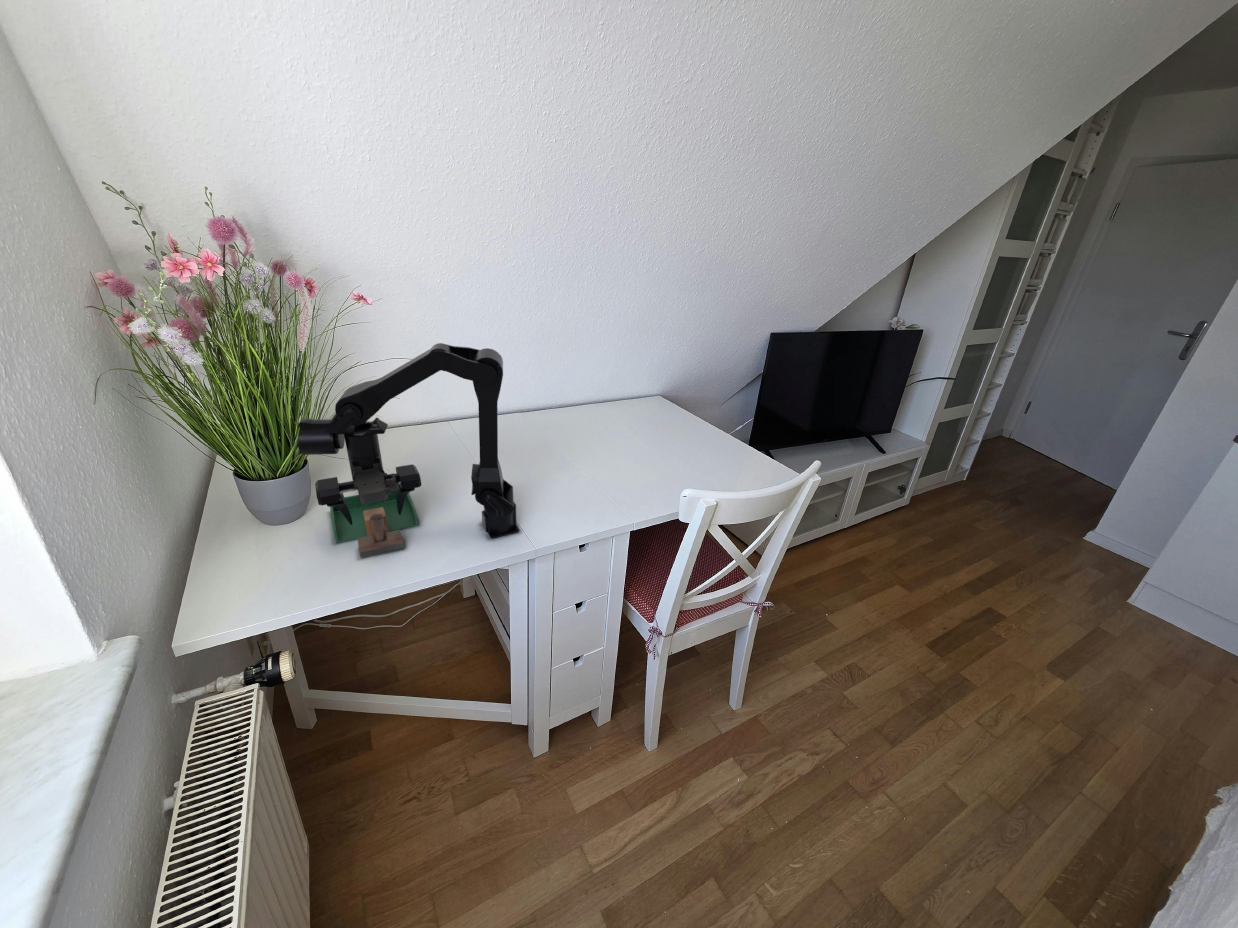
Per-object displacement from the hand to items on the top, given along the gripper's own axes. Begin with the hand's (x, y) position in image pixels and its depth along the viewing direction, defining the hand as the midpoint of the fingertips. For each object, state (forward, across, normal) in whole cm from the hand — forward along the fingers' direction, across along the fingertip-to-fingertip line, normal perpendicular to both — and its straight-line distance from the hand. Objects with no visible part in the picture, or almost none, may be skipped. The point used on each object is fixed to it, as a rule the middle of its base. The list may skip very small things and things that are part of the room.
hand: (375, 518), depth 107 cm
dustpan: (+4, 0, +11) cm, 11 cm away
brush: (+4, 0, -6) cm, 7 cm away
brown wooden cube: (+2, 0, 0) cm, 2 cm away
